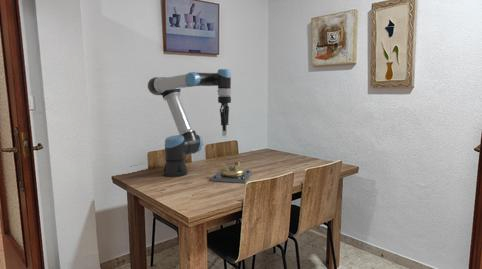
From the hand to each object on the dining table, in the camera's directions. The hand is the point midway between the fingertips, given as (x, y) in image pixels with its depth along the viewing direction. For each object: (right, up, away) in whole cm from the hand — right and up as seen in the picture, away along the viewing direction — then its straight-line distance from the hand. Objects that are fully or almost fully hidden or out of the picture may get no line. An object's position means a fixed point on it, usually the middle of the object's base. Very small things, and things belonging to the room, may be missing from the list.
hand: (224, 136), depth 203 cm
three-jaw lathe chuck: (+4, -22, 0) cm, 23 cm away
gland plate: (+4, -25, 0) cm, 25 cm away
